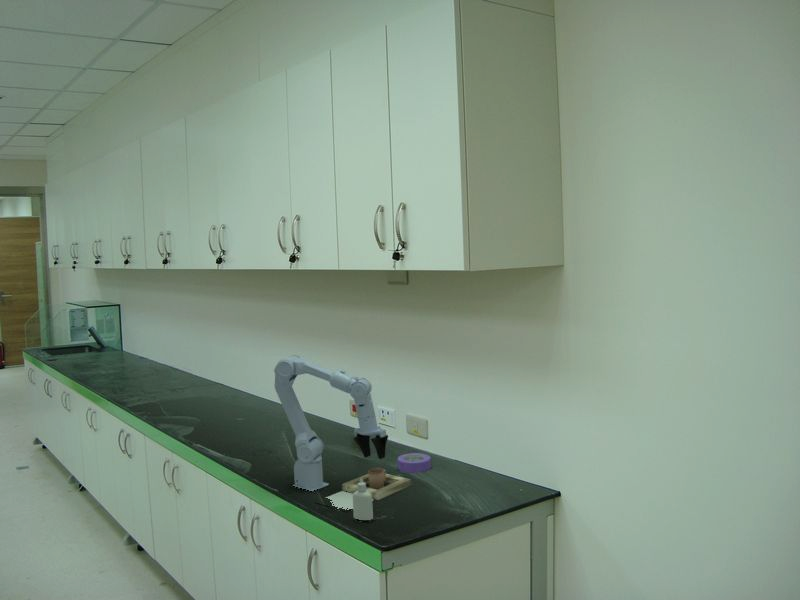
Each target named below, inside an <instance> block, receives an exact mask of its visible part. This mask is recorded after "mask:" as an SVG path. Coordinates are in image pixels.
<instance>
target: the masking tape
mask: <svg viewBox="0 0 800 600" xmlns="http://www.w3.org/2000/svg"><path fill="white" fill-rule="evenodd" d="M431 464H432V462H431V456H430V455H428V454H426V453H420V452H413V453H405V454H401V455H400V456H398V457H397V469H399V470H400V471H399V470H398V471H399V472H401V471H403V472H402V473H405V472H409V473H408V474H416V473H415V472H420V473H424V472H427V471H429V470H430V469H431V468H432V465H431ZM428 469H429V470H428ZM426 470H427V471H426ZM423 471H424V472H423Z"/></svg>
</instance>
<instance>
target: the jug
mask: <svg viewBox="0 0 800 600" xmlns="http://www.w3.org/2000/svg"><path fill="white" fill-rule="evenodd" d="M367 474H368V476H369V483H368V488H372V489H376V490H378V489H381V488H383V487H385V482H384V481H386V474H387V472H386V469H384V468H382V467H372V468H369V469H368V470H367Z"/></svg>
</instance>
